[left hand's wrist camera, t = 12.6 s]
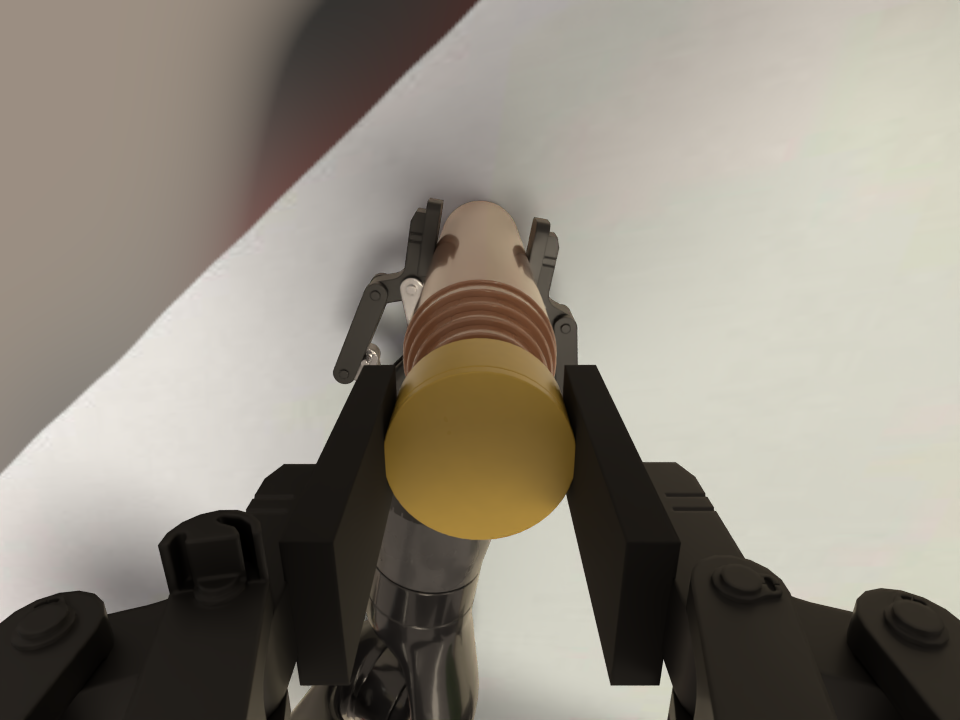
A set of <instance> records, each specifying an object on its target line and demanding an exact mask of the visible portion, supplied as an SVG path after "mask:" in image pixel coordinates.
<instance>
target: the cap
mask: <svg viewBox="0 0 960 720" xmlns="http://www.w3.org/2000/svg"><path fill="white" fill-rule="evenodd" d="M575 445H576V443H575V438H574V433H573V430H572V427H571V423H570V420H569V417H568V414H567V410H566V407H565V404H564V400H563V397H562V394H561V391H560V389H559V386H558V384H557V382H556V380H555V378H554V377H553V375H552V374H551V372H550V371H549V370H548V368H547V367H546V366H545V365H544V364H543V363H542V362H541V361H540V360H539V359H537V358H536V357H535V356H534V355H532V354H531V353H529V352H528V351H526V350H524V349H522V348H521V347H518V346H516V345H513V344H511V343H508V342H504V341H500V340H495V339H488V338H473V339H464V340H459V341H455V342H452V343H449V344H446V345H444V346H441V347H439V348H437V349H435V350H434V351H432V352H430V353H429V354H428V355H426V356H425V357H423V358H422V359H421V360H420V361H419V362H418V363H417V364H416V365H415V366H414V367H413V368H412V369H411V371H410V372H409V373H408V375H407V376H406V378H405V380H404V381H403V383H402V385H401V388H400V390H399V393H398V396H397V399H396V403H395V406H394V409H393V412H392V416H391V419H390V422H389V426H388V429H387V432H386V436H385V440H384V452H385V467H386V478H387V481H388V483H389V486H390V488H391V490H392V492H393V494H394V495H395V497H396V498H397V500H398V501H399V502H400V504H401V505H402V506H403V507H404V508H405V509H406V510H407V512H408V513H409V514H411V515H412V516H413V517H414V518H415V519H417V520H418V521H419V522H421V523H423V524H424V525H426V526H427V527H429V528H431V529H433V530H436V531H438V532H440V533H443V534H446V535H449V536H453V537H457V538H462V539H471V540H488V539H497V538H502V537H507V536H511V535H514V534H517V533H520V532H522V531H524V530H526V529H528V528H530V527H532V526H534V525H535V524H537V523H539V522H540V521H542V520H543V519H544V518H545V517H547V516H548V515H549V514H550V513H551V512H552V511H553V510H554V509H555V508H556V507H557V506H558V505H559V503H560V502H561V501H562V499H563V498H564V496H565V495H566V493H567V491H568V489H569V487H570V485H571V482H572V480H573V475H574V461H575Z"/></svg>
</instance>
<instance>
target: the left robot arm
mask: <svg viewBox="0 0 960 720" xmlns="http://www.w3.org/2000/svg"><path fill="white" fill-rule="evenodd" d="M396 399H397V389H396V371H395V365H364V366H363V368H362V370H361V372H360V374H359V376H358V378H357V380H356V382H355V384H354V386H353V388H352V391H351V393H350V395H349V397H348V399H347V401H346V403H345V405H344V407H343V409H342V411H341V413H340V416H339V418H338V420H337V422H336V424H335V426H334V428H333V430H332V432H331V434H330V436H329V438H328V440H327V443H326V445H325V447H324V449H323V451H322V453H321V455H320V457H319V459H318V461H317V463H316V464H284V465H282V466H281V467H280V468H278V469H277V470H276V471H274V472H273V473H272V474H270V475H269V476H268V477H266V478H265V479H264V481H263V482H262V484H261V486H260V487H259V489H258V491H257V492H256V494H255V498H254V499H252V501H251V502H250V504H249V506H248V507H247V509H246V512H243V511H239V510H218V511H214V512H209V513H205V514H200V515H198V516H196V517H193V518H191V519H189V520H186V521H184V522H182V523H181V524H179V525H178V526H176V527H175V528H174V529H172V530H171V531H169V532H168V533H167V534H166V535H165V537H164V538H163V539H162V541H161V542H160V543H159V545H158V547H159V552H160V556H161V560H162V564H163V568H164V572H165V576H166V580H167V584H168V588H169V592H170V595H169V597H168V599H166V600H163V601H160V602H157V603H153V604H150V605H146V606H142V607H137V608H133V609H129V610H124V611H120V612H116V613H111V614H107V612H106V609H105V605H104V602H103V601H102V600H101V599H100V598H99V597H98V596H97V595H96V594H93V593H88V592H83V591H72V592H63V593H57V594H54V595H51V596H48V597H45V598H42V599H39V600H36V601H34V602H32V603H31V604H29V605H27V606H25V607H23V608H21V609H19V610H17V611H15V612H14V613H13V614H11V615H10V616H9V617H8V618H6V619H5V620H4V621H3V622H1V623H0V720H290V717H291V708H290V701H289V695H288V689H287V687H288V684H289V681H290V678H291V675H292V672H293V669H294V667H295V664H296V661H297V667H298V674H299V681H300V685H349V683H350V678H351V674H352V670H353V665H354V661H355V657H356V653H357V648H358V644H359V640H360V635H361V631H362V627H363V623H364V618H365V614H366V610H367V605H368V601H369V597H370V592H371V588H372V584H373V580H374V575H375V571H376V567H377V562H378V558H379V554H380V550H381V545H382V541H383V537H384V532H385V528H386V524H387V519H388V515H389V511H390V507H391V502H392V498H393V492H392V490H391V488H390V486H389V483H388V481H387V478H386V467H385V452H384V440H385V436H386V432H387V429H388V426H389V422H390V419H391V416H392V412H393V409H394V406H395V403H396ZM563 400H564V404H565V407H566V410H567V414H568V417H569V420H570V423H571V427H572V430H573V433H574V438H575V443H576V445H575V461H574V475H573V480H572V482H571V485H570V487H569V489H568V491H567V493H566V495H567V500H568V504H569V508H570V512H571V517H572V521H573V525H574V530H575V534H576V538H577V543H578V547H579V551H580V555H581V560H582V564H583V568H584V573H585V577H586V581H587V586H588V590H589V594H590V598H591V603H592V607H593V611H594V616H595V620H596V624H597V628H598V633H599V637H600V641H601V646H602V650H603V654H604V659H605V663H606V667H607V671H608V676H609V680H610V684H611V685H660V678H661V671H662V665H663V659H664V662H665V665H666V668H667V671H668V674H669V676H670V679H671V682H672V685H673V689H672V695H671V701H670V707H669V713H668V719H667V720H960V620H959V619H957V618H956V617H955V616H954V615H952V614H951V613H950V612H949V611H947V610H946V609H944V608H942V607H941V606H939V605H937V604H935V603H933V602H931V601H929V600H927V599H925V598H923V597H920V596H917V595H914V594H911V593H908V592H905V591H901V590H893V589H884V588H879V589H874V590H869V591H865V592H864V593H863V594H862V595H861V596H860V597H859V598H858V599H857V600H856V604H855V607H854V610H853V612H851V611H846V610H842V609H837V608H833V607H829V606H824V605H820V604H816V603H811V602H808V601H804V600H801V599H798V598H795V597H792V596H791V594H790V592H789V590H788V589H787V587H786V586H785V584H784V583H783V581H782V580H781V579H780V578H779V577H777V576H776V575H775V574H774V573H773V572H771V571H770V570H769V569H768V568H766V567H764V566H762V565H759V564H757V563H755V562H753V561H751V560H748V559H745V558H744V556H743V555H742V553H741V551H740V550H739V548H738V546H737V545H736V543H735V541H734V540H733V538H732V537H731V535H730V533H729V532H728V530H727V528H726V527H725V525H724V523H723V522H722V520H721V518H720V517H719V515H718V514H717V512H716V511H714V507H713V505H712V504H711V502H710V500H709V499H708V497H705V492H704V491H703V489H702V487H701V486H700V484H699V482H698V481H697V479H696V477H695V476H693V475H692V474H691V473H689V472H688V471H687V470H685V469H684V468H683V467H681V466H680V465H679V464H677V463H676V462H642V460H641V458H640V456H639V454H638V452H637V450H636V448H635V446H634V443H633V441H632V439H631V437H630V435H629V433H628V431H627V429H626V427H625V425H624V423H623V421H622V418H621V416H620V414H619V412H618V410H617V408H616V406H615V404H614V402H613V400H612V398H611V396H610V393H609V391H608V389H607V387H606V385H605V383H604V381H603V379H602V377H601V375H600V373H599V371H598V369H597V366H596V365H564V382H563Z"/></svg>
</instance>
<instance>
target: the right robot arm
mask: <svg viewBox="0 0 960 720" xmlns="http://www.w3.org/2000/svg"><path fill="white" fill-rule="evenodd" d="M442 208H443V200H439V199H434V198H430V199H429V200H428V203H427V208H426V209H423V208H418V210H417V211H416V213H415V214H414V216H413V218H412V220H411V224H410V231H409V239H408V246H407V254H406V261H405V268H404V269H403V270H402V271H400V272H397V273H392V274H386V273H379V274H376V275H375V276H374V277H373V279H372V280H371V283H370V284H369V285H368V286H367V287H366V289H365V291H364V293H363V296H362V298H361V301H360V303H359V306H358V309H357V311H356V314H355V316H354V319H353V321H352V324H351V326H350V329H349V332H348V334H347V337H346V339H345V342H344V344H343V347H342V349H341V352H340V355H339V357H338V360H337V362H336V365H335V367H334V370H333V376H334V378H335V379H336V380H337V381H338V382H339V383H342V384H349V383H351V382H352V381H353V380H357V378H358V376H359V374H360V372H361V370H362V368H363V366H364V365H381V364H380V355H381V352H380V349H379V348H378V347H377V346H376V345H375V344H373V343H371V341H372V338H373V336H374V333H375V331H376V328H377V326H378V324H379V321H380V319H381V316H382V314H383V311H384V309H385V306H386V304H387V303H391V302H397V301H402V302H403V306H404V311H405V315H406V320H407V327H408V324H409V322H410V319H411V316H412V313H413V310H414V308H415V305H416V302H417V299H418V296H419V294H420V291H421V288H422V285H423V282H424V280H425V277H426V274H427V271H428V269H429V266H430V263H431V260H432V257H433V255H434V252H435V249H436V246H437V242H438V235H439V228H440V222H441V215H442ZM558 251H559V244H558V238H557V236H556V235H555V233H554V232H550V222H549V221H548V220H547V219H542V218H536V217H534V219H533V222H532V227H531V232H530V237H529V241H528V246H527V251H526V255H527V258H528V261H529V263H530V266H531V269H532V272H533V275H534V277H535V280H536V283H537V286H538V289H539V291H540V294H541V297H542V300H543V303H544V305H545V308H546V311H547V314H548V317H549V319H550V322H551V325H552V328H553V331H554V335H555V339H556V346H557V356H556V370H555V376H554V378H555V380H556V382H557V384H558V386H559V389H560V391H561V394H562V397H563V382H564V365H578V358H577V324H576V322H575V320H574V318H573V316H572V314H571V312H570V310H569V308H568V307H567V306H565V305H562V304H559V303H557V302H555V301H553V300H552V299H550V298H549V290H550V286H551V281H552V277H553V272H554V268H555V264H556V259H557V255H558ZM393 365H395V371H396V389H397V396H398V393H399V390H400V388H401V385H402V383H403V381H404V380H405V378H406V376H405V372H404V364H403V356H402V357H400V358H399V359H398V360H397V361H396V362H395V363H394V364H393ZM490 541H491V539H488V540H471V539H462V538H457V537H453V536H449V535H446V534H443V533H440V532H438V531H436V530H433V529H431V528H429V527H427V526H426V525H424V524H423V523H421V522H419V521H418V520H417V519H415V518H414V517H413V516H412V515H411V514H409V513H408V512H407V510H406V509H405V508H404V507H403V506H402V505H401V504H400V502H399V501H398V500H397V498H396V497H395V495H394V494H393V498H392V502H391V507H390V511H389V515H388V519H387V524H386V528H385V532H384V537H383V541H382V545H381V550H380V554H379V558H378V562H377V567H376V571H375V575H374V580H373V584H372V588H371V592H370V597H369V601H368V605H367V610H366V613H367V617H368V620H366V621H364V623H363V627H362V631H361V635H360V640H359V644H358V648H357V653H356V657H355V661H354V665H353V670H352V674H351V678H350V683H349V685H313V686H312V687H311V688H310V689H309V691H308V692H307V693H306V694H305V696H304V697H303V698H302V700H301V701H300V702H299V703H298V705H297V706H296V707H295V708H294V710H293V711H292V712H291V717H290V720H473V719H474V715H475V711H476V706H477V700H478V690H479V678H478V664H477V655H476V646H475V638H474V625H473V618H472V605H473V600H474V596H475V592H476V587H477V583H478V578H479V574H480V569H481V565H482V562H483V559H484V556H485V554H486V551H487V549H488V547H489V544H490Z"/></svg>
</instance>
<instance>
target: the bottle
mask: <svg viewBox="0 0 960 720" xmlns="http://www.w3.org/2000/svg"><path fill="white" fill-rule="evenodd" d="M473 338H488V339H495V340H500V341H504V342H508V343H511V344H513V345H516V346H518V347H521V348H522V349H524V350H526V351H528V352H529V353H531V354H532V355H534V356H535V357H536V358H537V359H539V360H540V361H541V362H542V363H543V364H544V365H545V366H546V367H547V368H548V370H549V371H550V372H551V374H552V375H553V377H554V376H555V370H556V356H557V346H556V339H555V335H554V331H553V328H552V325H551V322H550V319H549V317H548V314H547V311H546V308H545V305H544V303H543V300H542V297H541V294H540V291H539V289H538V286H537V283H536V280H535V277H534V275H533V272H532V269H531V266H530V263H529V261H528V258H527V255H526V252H525V249H524V247H523V244H522V241H521V238H520V235H519V233H518V230H517V227H516V224H515V222H514V220H513V219H512V217H511V216H510V215H509V213H508V212H507V211H506V210H505V209H503V208H502V207H500V206H499V205H497V204H494V203H492V202H488V201H472V202H468V203H465V204H463V205H461V206H460V207H458V208H457V209H455V210H454V211H453V212H452V213H451V214H450V216H449V217H448V218H447V220H446V222H445V224H444V227H443V229H442V232H441V235H440V238H439V241H438V243H437V246H436V249H435V252H434V255H433V257H432V260H431V263H430V266H429V269H428V271H427V274H426V277H425V280H424V282H423V285H422V288H421V291H420V294H419V296H418V299H417V302H416V305H415V308H414V310H413V313H412V316H411V319H410V322H409V324H408V327H407V330H406V334H405V338H404V344H403V364H404V372H405V376H407V375H408V373H409V372H410V371H411V369H412V368H413V367H414V366H415V365H416V364H417V363H418V362H419V361H420V360H421V359H422V358H423V357H425V356H426V355H428V354H429V353H430V352H432V351H434V350H435V349H437V348H439V347H441V346H444V345H446V344H449V343H452V342H455V341H459V340H464V339H473Z"/></svg>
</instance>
